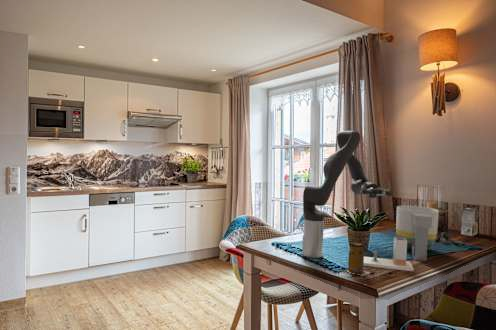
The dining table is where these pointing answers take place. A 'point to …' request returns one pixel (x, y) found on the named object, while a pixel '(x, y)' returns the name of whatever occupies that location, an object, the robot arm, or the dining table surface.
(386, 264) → the pin board
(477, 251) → the dining table surface
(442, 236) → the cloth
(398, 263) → the sleeve
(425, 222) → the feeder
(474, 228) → the coffee box
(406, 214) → the planter
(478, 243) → the dining table surface
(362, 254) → the condiment
